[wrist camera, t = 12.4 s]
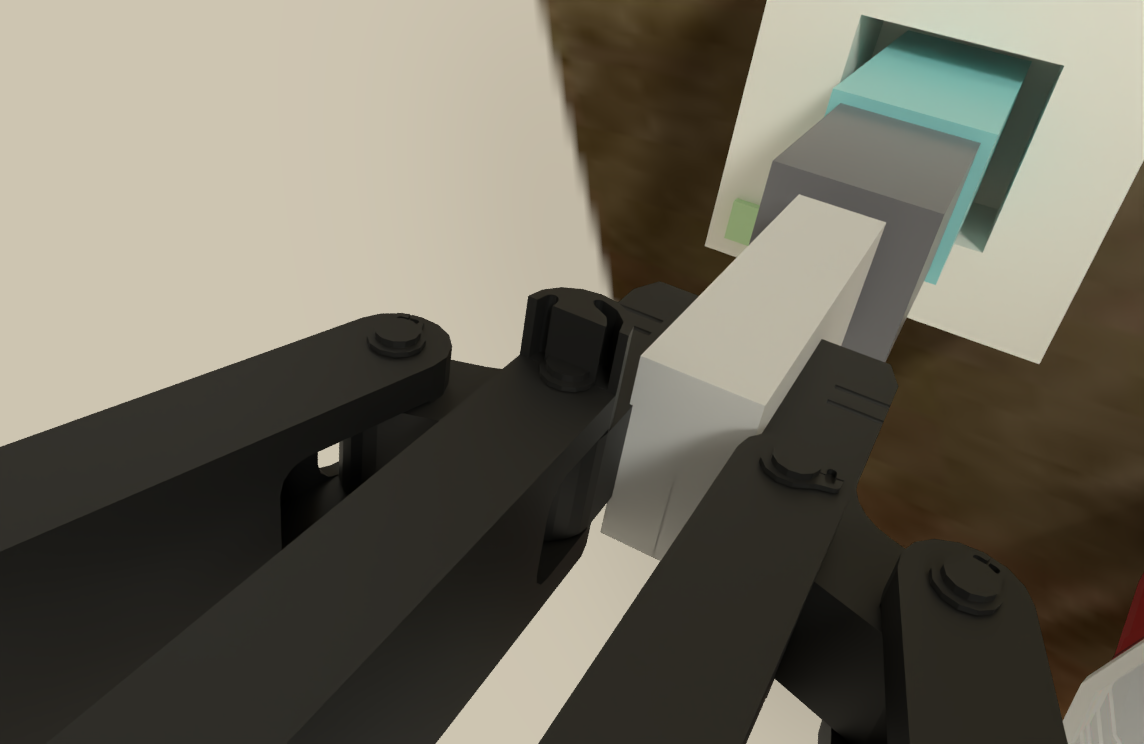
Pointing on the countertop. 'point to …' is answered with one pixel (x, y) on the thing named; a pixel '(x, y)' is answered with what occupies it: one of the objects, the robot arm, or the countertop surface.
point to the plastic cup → (1114, 690)
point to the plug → (901, 165)
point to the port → (1020, 161)
